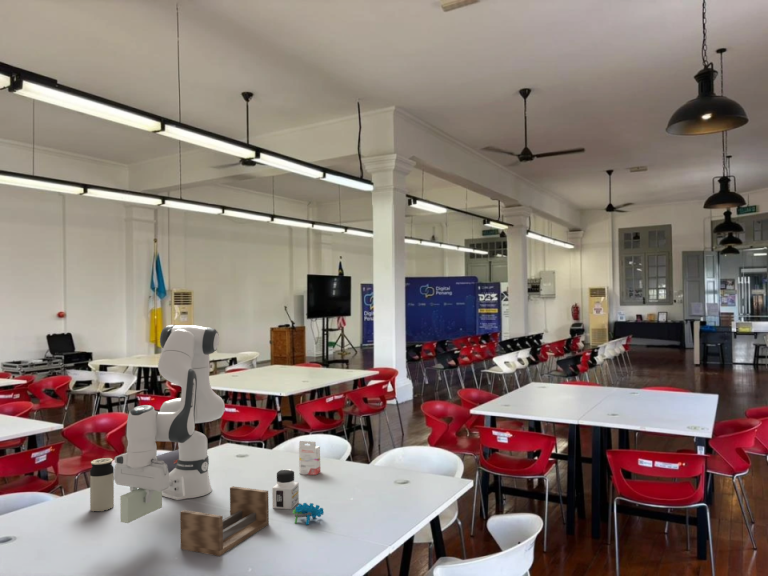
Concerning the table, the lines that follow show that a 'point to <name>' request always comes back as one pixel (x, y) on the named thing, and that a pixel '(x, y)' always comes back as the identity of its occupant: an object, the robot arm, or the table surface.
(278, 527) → the table surface
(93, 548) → the table surface
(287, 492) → the container
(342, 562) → the table surface
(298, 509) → the gear
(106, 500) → the travel mug
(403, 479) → the table surface
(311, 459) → the ink cartridge box
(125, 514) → the door panel
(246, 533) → the cabinet base
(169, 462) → the bluetooth speaker
